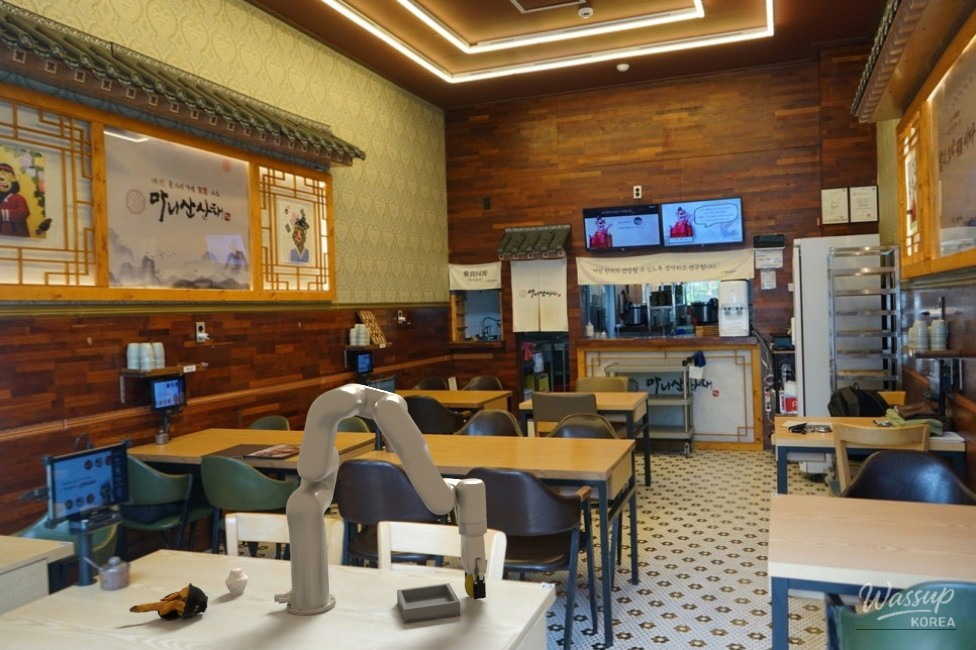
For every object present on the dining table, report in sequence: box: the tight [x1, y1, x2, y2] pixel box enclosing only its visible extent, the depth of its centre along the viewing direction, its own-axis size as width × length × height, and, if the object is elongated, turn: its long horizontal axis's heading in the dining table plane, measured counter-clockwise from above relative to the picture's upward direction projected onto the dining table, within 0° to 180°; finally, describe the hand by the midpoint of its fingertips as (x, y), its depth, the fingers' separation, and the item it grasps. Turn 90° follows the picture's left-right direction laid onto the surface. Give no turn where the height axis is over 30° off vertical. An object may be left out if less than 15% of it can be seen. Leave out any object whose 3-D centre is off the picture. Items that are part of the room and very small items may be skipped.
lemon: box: [464, 570, 486, 601], centre depth 194 cm, size 6×6×8 cm
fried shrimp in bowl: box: [129, 582, 209, 621], centre depth 189 cm, size 9×11×18 cm
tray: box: [396, 582, 462, 625], centre depth 188 cm, size 14×14×4 cm
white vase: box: [224, 567, 249, 595], centre depth 206 cm, size 6×6×7 cm
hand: (475, 591), depth 194 cm, fingers open, 9 cm apart
